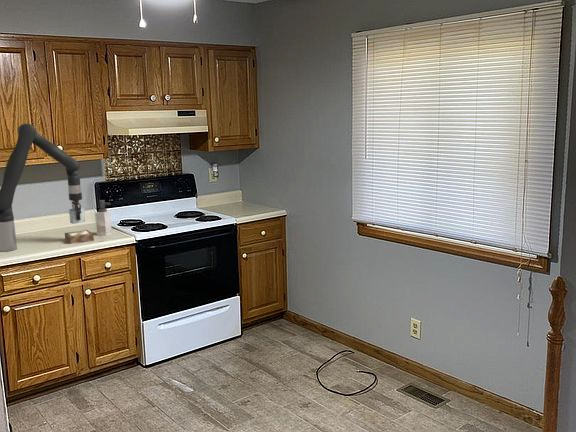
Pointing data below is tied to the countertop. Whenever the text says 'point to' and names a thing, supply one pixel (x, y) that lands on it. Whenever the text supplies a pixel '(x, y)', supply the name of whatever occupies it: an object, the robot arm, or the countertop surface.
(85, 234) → the walnut plinth
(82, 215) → the medicine box
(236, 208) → the countertop surface
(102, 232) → the soap dispenser
